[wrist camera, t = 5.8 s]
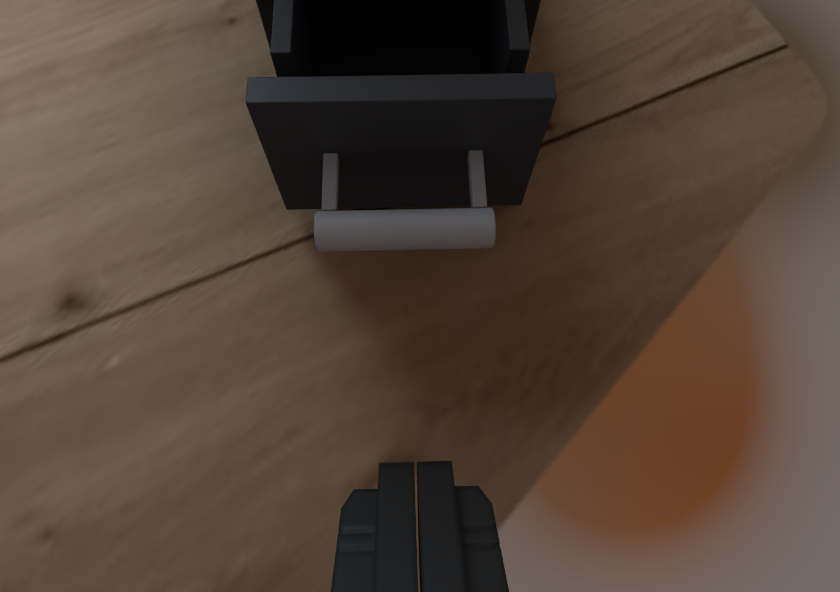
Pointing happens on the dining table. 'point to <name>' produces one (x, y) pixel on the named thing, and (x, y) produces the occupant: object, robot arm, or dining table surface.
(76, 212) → the dining table surface
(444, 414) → the dining table surface
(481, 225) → the drawer
